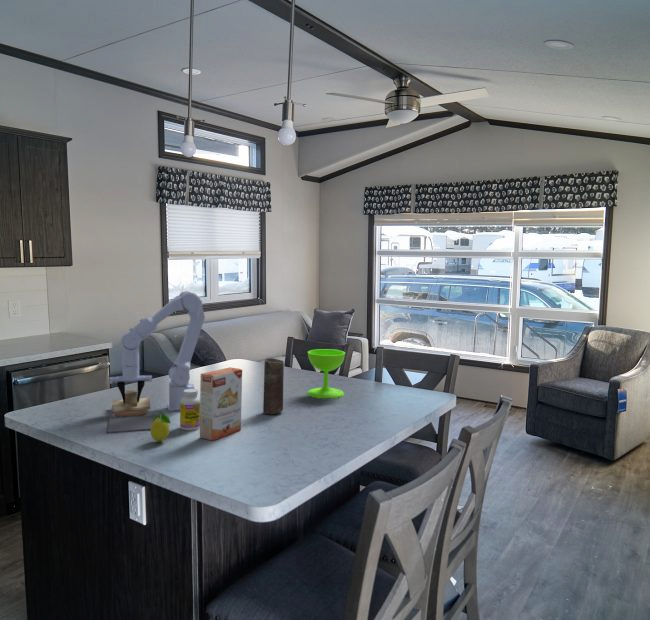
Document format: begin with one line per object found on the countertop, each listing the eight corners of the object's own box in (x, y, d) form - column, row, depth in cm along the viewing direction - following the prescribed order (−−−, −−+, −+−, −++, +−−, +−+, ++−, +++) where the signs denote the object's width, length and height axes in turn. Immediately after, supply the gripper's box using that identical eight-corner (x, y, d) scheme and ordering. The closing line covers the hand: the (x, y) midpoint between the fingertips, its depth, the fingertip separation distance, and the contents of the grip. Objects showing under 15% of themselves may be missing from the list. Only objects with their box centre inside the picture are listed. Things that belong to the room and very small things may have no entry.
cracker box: (213, 441, 171) (213, 375, 169) (198, 438, 174) (199, 373, 172) (242, 430, 183) (243, 368, 181) (228, 427, 186) (229, 366, 184)
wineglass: (351, 395, 232) (353, 353, 230) (320, 400, 223) (321, 357, 221) (330, 388, 245) (331, 348, 243) (299, 392, 236) (300, 350, 234)
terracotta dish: (148, 406, 208) (148, 400, 208) (148, 415, 197) (148, 408, 197) (114, 408, 204) (114, 402, 204) (113, 418, 193) (113, 410, 193)
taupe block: (149, 399, 209) (149, 387, 208) (150, 408, 196) (150, 396, 196) (113, 401, 204) (112, 389, 204) (111, 411, 192) (111, 398, 192)
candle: (272, 408, 210) (273, 357, 208) (287, 412, 205) (288, 359, 203) (259, 413, 203) (259, 359, 201) (274, 416, 199) (274, 362, 197)
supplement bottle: (182, 432, 180) (182, 393, 178) (178, 426, 186) (178, 389, 184) (202, 429, 183) (203, 391, 182) (197, 424, 189) (197, 387, 187)
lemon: (170, 445, 167) (170, 412, 166) (150, 446, 166) (150, 414, 165) (170, 437, 174) (170, 407, 173) (150, 439, 172) (150, 408, 171)
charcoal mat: (157, 415, 197) (157, 414, 197) (159, 429, 182) (159, 427, 182) (109, 419, 192) (109, 417, 192) (107, 433, 177) (107, 431, 177)
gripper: (151, 362, 205) (151, 397, 206) (110, 363, 200) (110, 400, 202) (152, 365, 198) (152, 402, 200) (109, 367, 194) (109, 405, 195)
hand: (131, 401), depth 200 cm, fingers open, 4 cm apart
